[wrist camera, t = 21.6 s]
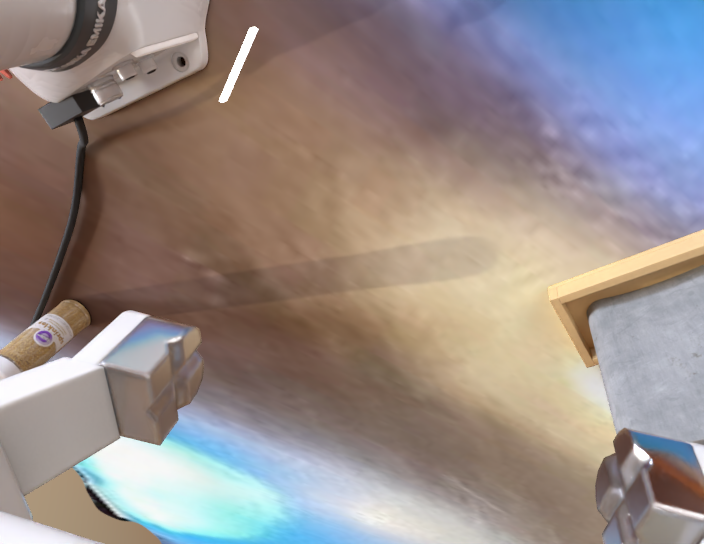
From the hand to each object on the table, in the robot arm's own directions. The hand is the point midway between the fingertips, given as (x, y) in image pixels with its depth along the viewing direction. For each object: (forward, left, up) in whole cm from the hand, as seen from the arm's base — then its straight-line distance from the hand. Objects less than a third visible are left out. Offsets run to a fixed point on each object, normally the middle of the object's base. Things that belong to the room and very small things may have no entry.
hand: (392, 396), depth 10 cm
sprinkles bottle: (-57, 0, -37) cm, 68 cm away
